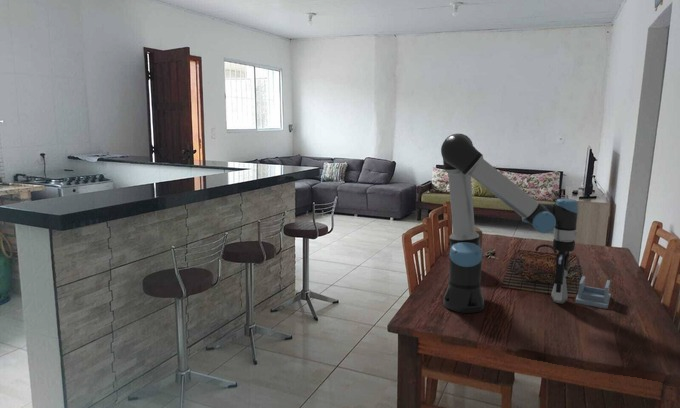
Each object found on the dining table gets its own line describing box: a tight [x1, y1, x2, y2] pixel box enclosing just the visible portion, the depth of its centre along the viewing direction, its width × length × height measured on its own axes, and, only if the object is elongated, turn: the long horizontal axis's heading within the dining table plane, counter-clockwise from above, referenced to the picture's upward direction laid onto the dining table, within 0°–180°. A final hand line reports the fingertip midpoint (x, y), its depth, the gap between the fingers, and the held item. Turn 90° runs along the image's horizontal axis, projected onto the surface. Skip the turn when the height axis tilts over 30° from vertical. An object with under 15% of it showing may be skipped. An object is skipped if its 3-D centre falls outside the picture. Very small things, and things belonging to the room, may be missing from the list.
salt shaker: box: [550, 269, 569, 305], centre depth 188 cm, size 6×6×13 cm
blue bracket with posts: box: [574, 275, 612, 310], centre depth 190 cm, size 14×11×8 cm
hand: (559, 297), depth 189 cm, fingers closed on salt shaker, 6 cm apart
